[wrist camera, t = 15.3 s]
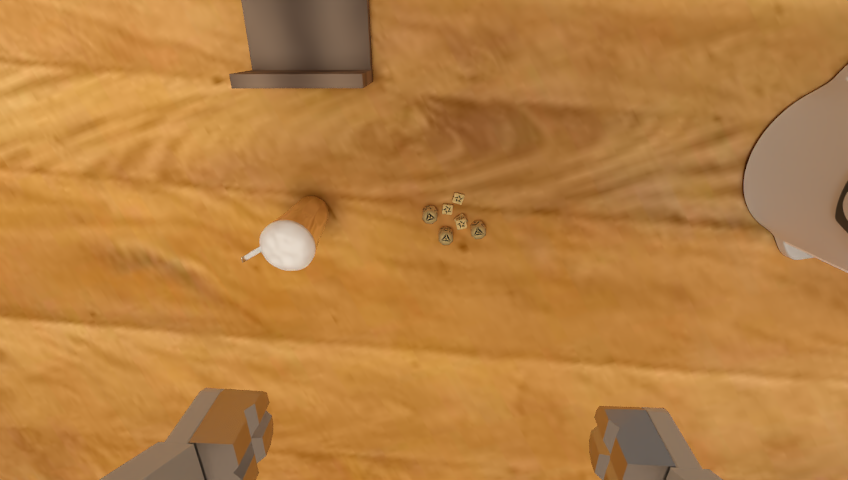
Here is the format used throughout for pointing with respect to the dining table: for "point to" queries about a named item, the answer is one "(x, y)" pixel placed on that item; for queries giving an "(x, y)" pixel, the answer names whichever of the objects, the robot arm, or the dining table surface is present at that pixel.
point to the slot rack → (307, 44)
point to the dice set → (446, 232)
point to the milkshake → (293, 235)
